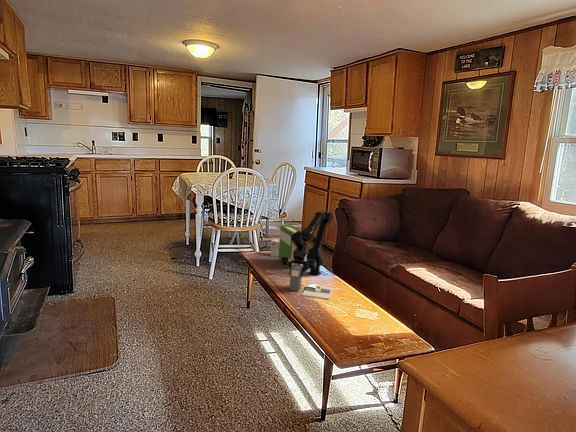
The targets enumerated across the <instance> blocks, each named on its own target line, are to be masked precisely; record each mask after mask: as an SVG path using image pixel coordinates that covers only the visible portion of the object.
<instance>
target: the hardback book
mask: <svg viewBox="0 0 576 432" xmlns="http://www.w3.org/2000/svg"><path fill="white" fill-rule="evenodd" d="M297 231H300V232H301V231H302V230H301V229H300V228H297V227H295V226H294V225H291V224H290V225H289V224H285V225H284V224H283V225H280V230H279V240H280V244H279V257H278V262H279V263H281V257H282V256H286V257H289V259H292V260H294V258H293V251H294V250H296V247H297V246H295V245H294V243H293V242H292V240H291V235H293V234H294V233H296V232H297ZM281 264H282V263H281ZM293 265H299V266H301V264H294V263H292V266H293ZM283 266H284V267H285V268H287V269H288V270H290V269H289V267H287V265H283Z"/></svg>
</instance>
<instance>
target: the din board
mask: <svg viewBox="0 0 576 432" xmlns="http://www.w3.org/2000/svg"><path fill="white" fill-rule="evenodd" d="M309 285H311V284H307V285H306V287H308V286H309ZM320 286H321V289H328V290H331V292H330V293H324V292H321V289H316V290H315V291H309V290H306V287H305V289H304V291H303V292H302V294H301V295H302V296H303V297H308V298H317V299H322V300H323V299H324V300H331V299H330V298H331V296H332V293H333V289H334V287H330V286H323V285H320Z"/></svg>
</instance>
